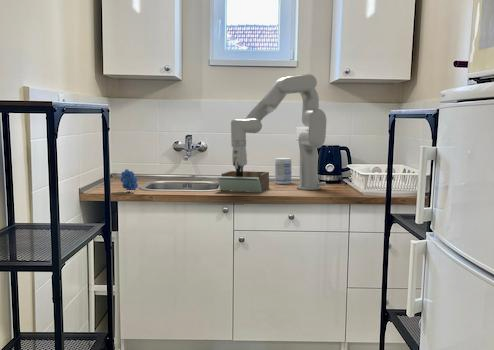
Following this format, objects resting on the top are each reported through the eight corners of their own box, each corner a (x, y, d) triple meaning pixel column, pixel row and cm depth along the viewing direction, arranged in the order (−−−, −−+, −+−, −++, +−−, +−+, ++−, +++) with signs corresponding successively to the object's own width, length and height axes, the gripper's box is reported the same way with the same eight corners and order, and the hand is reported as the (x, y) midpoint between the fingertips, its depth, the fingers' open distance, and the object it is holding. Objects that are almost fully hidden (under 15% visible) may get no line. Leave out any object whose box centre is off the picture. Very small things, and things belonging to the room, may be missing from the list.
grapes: (115, 192, 245) (114, 169, 243) (124, 190, 250) (124, 168, 249) (131, 194, 239) (130, 170, 237) (141, 192, 244) (140, 169, 243)
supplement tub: (287, 184, 270) (287, 159, 268) (272, 183, 274) (272, 158, 272) (294, 182, 278) (294, 158, 276) (279, 182, 283) (279, 157, 281)
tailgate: (261, 191, 242) (259, 177, 236) (261, 192, 241) (258, 178, 236) (221, 189, 248) (218, 176, 243) (220, 191, 247) (217, 177, 242)
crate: (268, 188, 256) (268, 171, 255) (261, 192, 242) (261, 174, 241) (230, 186, 263) (230, 170, 262) (221, 190, 249) (221, 173, 248)
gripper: (241, 144, 231) (241, 181, 233) (250, 142, 245) (251, 177, 247) (226, 144, 234) (227, 181, 236) (236, 142, 248) (237, 177, 250)
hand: (239, 179), depth 242 cm, fingers closed
